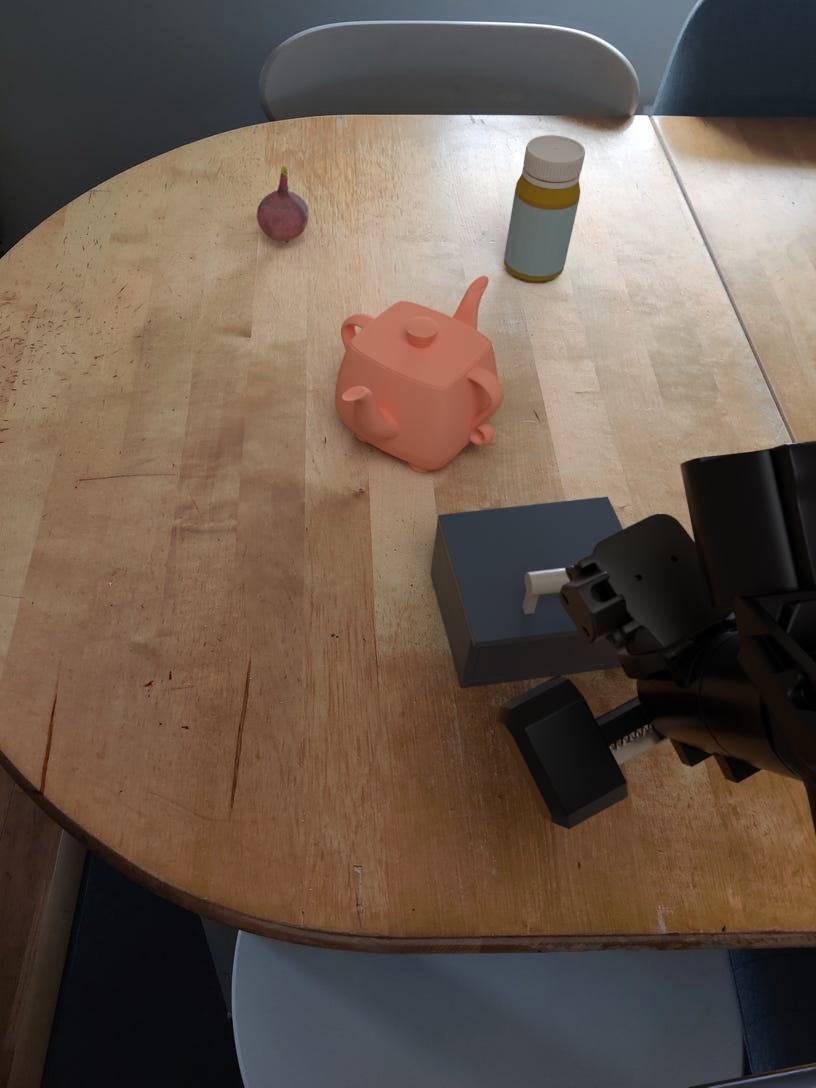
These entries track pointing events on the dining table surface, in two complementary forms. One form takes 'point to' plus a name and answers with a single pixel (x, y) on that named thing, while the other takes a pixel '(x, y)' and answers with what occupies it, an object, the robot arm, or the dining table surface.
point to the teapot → (419, 381)
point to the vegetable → (282, 212)
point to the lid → (521, 565)
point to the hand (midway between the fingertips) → (618, 673)
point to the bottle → (544, 208)
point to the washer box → (514, 657)
